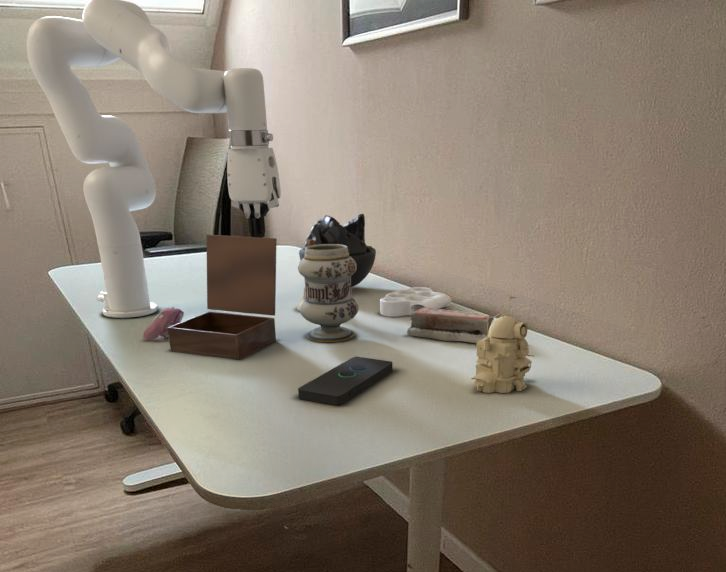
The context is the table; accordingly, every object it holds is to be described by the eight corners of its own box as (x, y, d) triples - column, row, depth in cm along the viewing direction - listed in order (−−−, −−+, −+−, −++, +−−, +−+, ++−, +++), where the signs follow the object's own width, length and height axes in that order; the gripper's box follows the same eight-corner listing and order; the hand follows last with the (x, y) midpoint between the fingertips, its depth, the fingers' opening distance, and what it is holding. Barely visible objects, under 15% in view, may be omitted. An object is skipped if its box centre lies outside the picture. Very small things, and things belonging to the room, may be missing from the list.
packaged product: (405, 313, 146) (423, 302, 154) (405, 336, 148) (423, 325, 156) (491, 321, 139) (505, 310, 146) (489, 346, 141) (503, 333, 149)
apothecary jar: (325, 325, 156) (322, 240, 148) (370, 333, 150) (369, 244, 142) (289, 338, 148) (283, 248, 139) (335, 347, 141) (332, 253, 133)
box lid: (274, 238, 139) (276, 238, 140) (206, 234, 145) (208, 234, 146) (273, 315, 144) (275, 315, 145) (207, 309, 150) (209, 309, 150)
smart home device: (395, 361, 127) (339, 395, 112) (394, 370, 128) (340, 406, 112) (354, 355, 131) (295, 388, 115) (354, 364, 132) (295, 398, 116)
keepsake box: (239, 359, 135) (236, 335, 133) (170, 350, 141) (167, 327, 139) (276, 340, 147) (274, 317, 144) (210, 333, 152) (208, 311, 150)
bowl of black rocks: (292, 296, 182) (288, 219, 174) (310, 280, 200) (307, 209, 191) (369, 298, 179) (368, 219, 171) (381, 282, 197) (381, 209, 188)
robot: (507, 400, 114) (515, 306, 107) (465, 389, 118) (470, 299, 112) (540, 383, 121) (549, 294, 114) (498, 374, 125) (505, 287, 119)
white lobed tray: (420, 321, 159) (365, 313, 166) (457, 305, 172) (405, 298, 179) (420, 306, 157) (365, 298, 164) (458, 291, 170) (405, 284, 178)
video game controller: (159, 349, 147) (169, 320, 144) (140, 338, 147) (149, 309, 144) (180, 336, 156) (190, 308, 152) (161, 326, 156) (171, 298, 152)
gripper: (291, 139, 141) (297, 236, 150) (227, 140, 147) (237, 234, 155) (272, 140, 135) (280, 241, 144) (206, 142, 141) (217, 239, 149)
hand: (257, 237), depth 149 cm, fingers closed
